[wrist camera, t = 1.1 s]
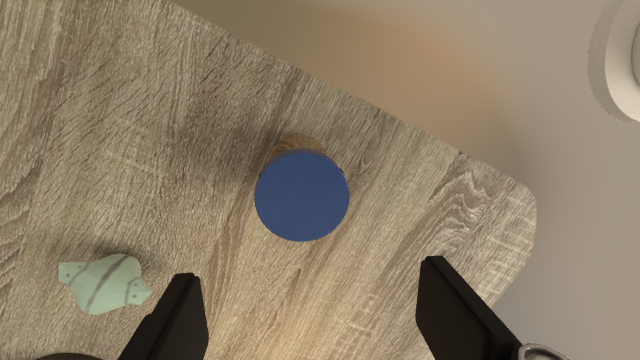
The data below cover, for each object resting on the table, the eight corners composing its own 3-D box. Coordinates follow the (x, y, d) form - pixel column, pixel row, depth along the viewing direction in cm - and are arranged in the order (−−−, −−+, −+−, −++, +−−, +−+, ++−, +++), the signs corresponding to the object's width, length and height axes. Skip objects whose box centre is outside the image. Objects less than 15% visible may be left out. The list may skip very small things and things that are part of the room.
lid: (299, 128, 21) (300, 132, 19) (362, 188, 23) (368, 196, 21) (238, 194, 22) (234, 202, 20) (303, 246, 24) (304, 258, 22)
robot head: (173, 258, 32) (143, 301, 25) (160, 287, 33) (129, 336, 26) (95, 231, 30) (42, 270, 24) (84, 263, 31) (30, 308, 25)
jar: (296, 120, 29) (300, 136, 20) (340, 162, 30) (362, 194, 22) (255, 166, 30) (240, 199, 21) (300, 204, 31) (304, 250, 22)
